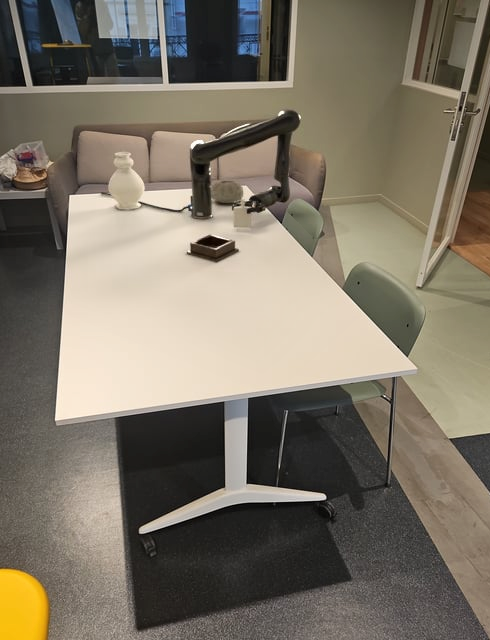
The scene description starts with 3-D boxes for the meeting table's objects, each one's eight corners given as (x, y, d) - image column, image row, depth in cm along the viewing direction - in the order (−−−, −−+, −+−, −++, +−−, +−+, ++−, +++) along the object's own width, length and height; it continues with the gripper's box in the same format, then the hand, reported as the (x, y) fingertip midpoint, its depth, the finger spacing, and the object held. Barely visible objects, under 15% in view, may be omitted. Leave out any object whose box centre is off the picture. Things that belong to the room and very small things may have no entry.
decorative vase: (129, 199, 267) (123, 148, 253) (153, 205, 259) (148, 152, 245) (103, 207, 256) (95, 154, 241) (128, 213, 247) (121, 158, 233)
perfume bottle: (233, 227, 225) (233, 200, 218) (233, 226, 227) (233, 198, 220) (251, 227, 226) (252, 200, 219) (251, 226, 227) (251, 199, 220)
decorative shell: (216, 207, 257) (215, 187, 251) (205, 198, 271) (204, 179, 265) (248, 204, 263) (248, 184, 257) (236, 195, 276) (236, 176, 270)
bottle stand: (186, 254, 203) (186, 243, 200) (209, 243, 213) (209, 233, 210) (216, 262, 196) (216, 251, 193) (238, 251, 206) (238, 240, 203)
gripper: (247, 190, 232) (226, 198, 221) (274, 195, 226) (253, 204, 215) (247, 207, 237) (226, 215, 226) (273, 212, 230) (253, 221, 219)
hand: (240, 209), depth 220 cm, fingers closed on perfume bottle, 7 cm apart
